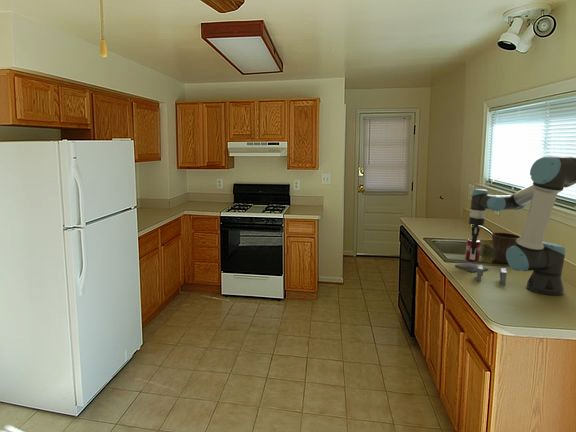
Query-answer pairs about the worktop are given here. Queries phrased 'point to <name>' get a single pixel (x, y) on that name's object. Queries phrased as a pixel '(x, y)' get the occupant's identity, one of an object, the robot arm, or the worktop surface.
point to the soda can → (469, 243)
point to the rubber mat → (470, 267)
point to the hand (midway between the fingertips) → (472, 257)
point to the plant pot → (502, 245)
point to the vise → (502, 274)
